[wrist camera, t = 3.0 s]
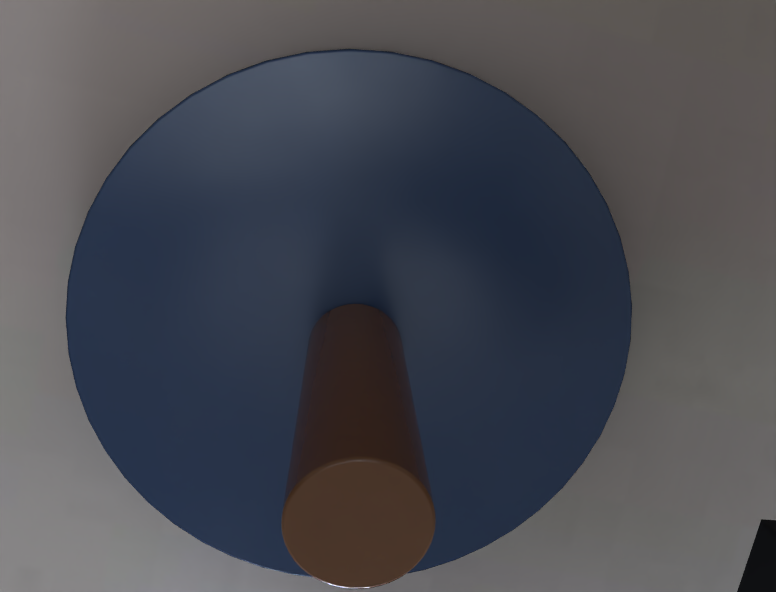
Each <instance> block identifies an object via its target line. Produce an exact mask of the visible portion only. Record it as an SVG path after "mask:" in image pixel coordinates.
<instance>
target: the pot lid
mask: <svg viewBox="0 0 776 592" xmlns="http://www.w3.org/2000/svg"><path fill="white" fill-rule="evenodd" d="M631 315H632V302H631V292H630V282H629V272H628V267H627V263H626V259H625V255H624V251H623V247H622V243H621V239H620V236H619V233H618V231H617V228H616V226H615V223H614V221H613V218H612V215H611V213H610V210H609V208H608V205H607V203H606V202H605V200H604V198H603V196H602V195H601V193H600V191H599V189H598V188H597V186H596V184H595V182H594V181H593V179H592V177H591V175H590V174H589V172H588V171H587V169H586V168H585V167H584V166H583V164H582V163H581V162H580V160H579V159H578V158H577V157H576V155H575V154H574V153H573V151H572V150H571V149H570V148H569V146H568V145H567V144H566V143H565V142H564V141H563V140H562V139H561V138H560V137H559V136H558V135H557V134H556V133H555V132H554V131H553V130H552V129H551V128H550V127H549V126H548V125H547V124H546V123H545V122H544V121H543V120H542V119H541V118H540V117H538V116H537V115H536V114H535V113H533V112H532V111H530V110H529V109H528V108H526V107H525V106H523V105H522V104H521V103H519V102H518V101H517V100H515V99H514V98H512V97H511V96H510V95H508V94H507V93H505V92H503V91H502V90H500V89H498V88H496V87H494V86H492V85H490V84H488V83H486V82H484V81H483V80H481V79H479V78H477V77H475V76H473V75H471V74H469V73H466V72H463V71H460V70H458V69H455V68H452V67H449V66H447V65H444V64H441V63H438V62H435V61H433V60H429V59H424V58H419V57H414V56H409V55H405V54H400V53H395V52H389V51H374V50H359V49H340V50H327V51H313V52H304V53H300V54H295V55H290V56H286V57H281V58H277V59H272V60H267V61H264V62H261V63H259V64H256V65H253V66H250V67H248V68H245V69H242V70H240V71H237V72H234V73H231V74H229V75H226V76H225V77H223V78H221V79H219V80H217V81H215V82H213V83H211V84H210V85H208V86H206V87H204V88H202V89H200V90H198V91H197V92H195V93H193V94H191V95H190V96H188V97H187V98H186V99H184V100H183V101H181V102H180V103H179V104H177V105H176V106H175V107H173V108H172V109H171V110H169V111H168V112H167V113H165V114H164V115H163V116H161V117H160V118H158V119H157V120H156V121H155V122H154V123H153V124H152V125H151V126H150V127H149V128H148V129H147V130H146V131H145V132H144V133H143V134H142V135H141V136H140V137H139V138H138V139H137V140H136V141H135V142H134V143H133V144H132V145H131V146H130V147H129V149H128V150H127V151H126V153H125V154H124V155H123V157H122V158H121V159H120V161H119V162H118V163H117V165H116V166H115V167H114V169H113V170H112V171H111V172H110V174H109V175H108V176H107V178H106V180H105V182H104V183H103V185H102V187H101V189H100V191H99V192H98V194H97V196H96V198H95V200H94V202H93V203H92V205H91V207H90V209H89V211H88V213H87V216H86V219H85V222H84V224H83V227H82V230H81V232H80V235H79V238H78V241H77V243H76V246H75V250H74V255H73V260H72V265H71V270H70V274H69V279H68V288H67V305H66V328H67V339H68V351H69V357H70V362H71V366H72V371H73V375H74V379H75V384H76V388H77V391H78V393H79V396H80V399H81V401H82V404H83V406H84V409H85V412H86V414H87V417H88V420H89V422H90V424H91V425H92V427H93V429H94V431H95V433H96V435H97V436H98V438H99V440H100V442H101V444H102V446H103V447H104V449H105V451H106V452H107V454H108V455H109V456H110V458H111V459H112V461H113V462H114V463H115V465H116V466H117V467H118V469H119V470H120V472H121V473H122V474H123V476H124V477H125V478H126V479H127V480H128V481H129V483H130V484H131V485H132V486H133V487H134V488H135V489H136V490H137V491H138V492H139V493H140V494H141V495H142V496H143V497H144V498H145V500H146V501H147V502H148V503H150V504H151V505H152V506H153V507H154V508H156V509H157V510H158V511H159V512H160V513H162V514H163V515H164V516H165V517H166V518H168V519H169V520H170V521H171V522H172V523H174V524H175V525H177V526H178V527H180V528H181V529H183V530H184V531H186V532H188V533H189V534H191V535H192V536H194V537H195V538H197V539H198V540H200V541H201V542H203V543H205V544H208V545H210V546H212V547H214V548H216V549H218V550H220V551H222V552H224V553H226V554H228V555H230V556H232V557H235V558H238V559H240V560H243V561H246V562H249V563H252V564H254V565H257V566H260V567H263V568H267V569H271V570H276V571H280V572H284V573H288V574H293V575H299V576H307V577H314V578H315V579H317V580H319V581H321V582H324V583H326V584H329V585H332V586H336V587H341V588H349V589H364V588H372V587H377V586H381V585H384V584H387V583H390V582H392V581H394V580H396V579H398V578H400V577H402V576H403V575H405V574H406V573H411V572H416V571H421V570H425V569H428V568H431V567H435V566H438V565H441V564H444V563H447V562H450V561H453V560H456V559H458V558H460V557H463V556H465V555H467V554H469V553H472V552H474V551H476V550H478V549H481V548H483V547H485V546H487V545H488V544H490V543H492V542H493V541H495V540H497V539H499V538H500V537H502V536H504V535H505V534H507V533H509V532H510V531H512V530H514V529H515V528H516V527H518V526H519V525H520V524H522V523H523V522H524V521H525V520H527V519H528V518H529V517H531V516H532V515H533V514H535V513H536V512H537V511H539V510H540V509H541V508H542V507H543V506H544V505H545V504H546V503H547V502H548V501H549V500H550V499H551V498H552V497H553V496H554V495H555V494H556V493H558V492H559V491H560V490H561V489H562V488H563V486H564V485H565V484H566V483H567V482H568V480H569V479H570V478H571V477H572V475H573V474H574V473H575V472H576V471H577V469H578V468H579V467H580V466H581V465H582V463H583V462H584V460H585V459H586V457H587V456H588V454H589V452H590V451H591V449H592V448H593V446H594V445H595V443H596V441H597V440H598V438H599V437H600V435H601V433H602V431H603V429H604V427H605V424H606V422H607V420H608V418H609V416H610V414H611V412H612V409H613V407H614V405H615V402H616V399H617V396H618V393H619V390H620V386H621V383H622V380H623V377H624V374H625V368H626V363H627V357H628V352H629V346H630V340H631Z"/></svg>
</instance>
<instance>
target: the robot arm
mask: <svg viewBox="0 0 776 592" xmlns="http://www.w3.org/2000/svg"><path fill="white" fill-rule="evenodd" d="M737 592H776V520H762V519H761V522H760V525H759V528H758V531H757V534H756V537H755V540H754V543H753V546H752V549H751V552H750V555H749V558H748V561H747V564H746V567H745V570H744V573H743V576H742V579H741V582H740V585H739V588H738V591H737Z"/></svg>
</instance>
